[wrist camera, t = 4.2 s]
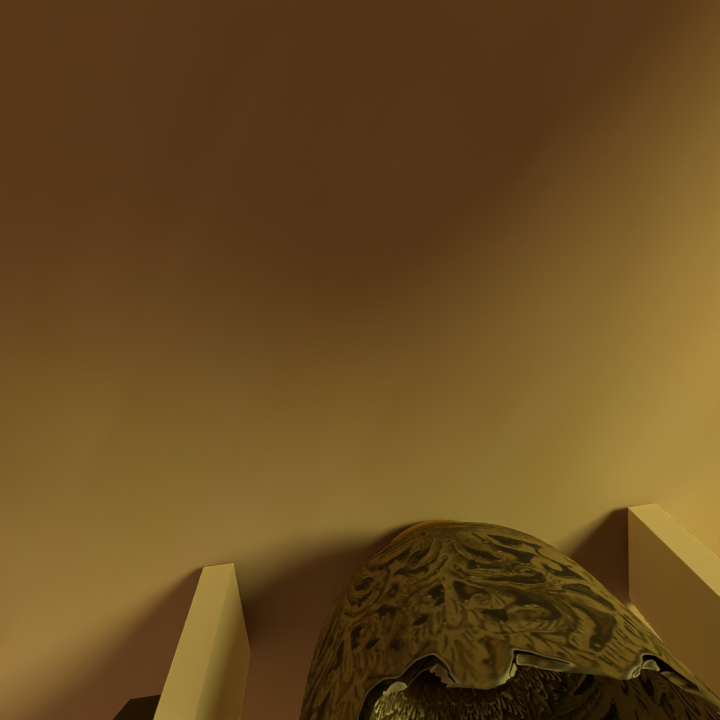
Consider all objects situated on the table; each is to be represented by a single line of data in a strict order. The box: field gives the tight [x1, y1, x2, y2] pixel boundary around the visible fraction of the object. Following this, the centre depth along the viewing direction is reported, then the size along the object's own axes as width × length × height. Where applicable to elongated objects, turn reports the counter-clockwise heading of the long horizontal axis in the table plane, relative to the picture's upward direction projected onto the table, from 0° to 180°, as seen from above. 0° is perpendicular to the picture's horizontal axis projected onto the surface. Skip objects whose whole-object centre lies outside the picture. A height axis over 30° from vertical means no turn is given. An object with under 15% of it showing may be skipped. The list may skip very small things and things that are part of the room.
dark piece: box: [299, 519, 720, 720], centre depth 12 cm, size 8×7×8 cm
